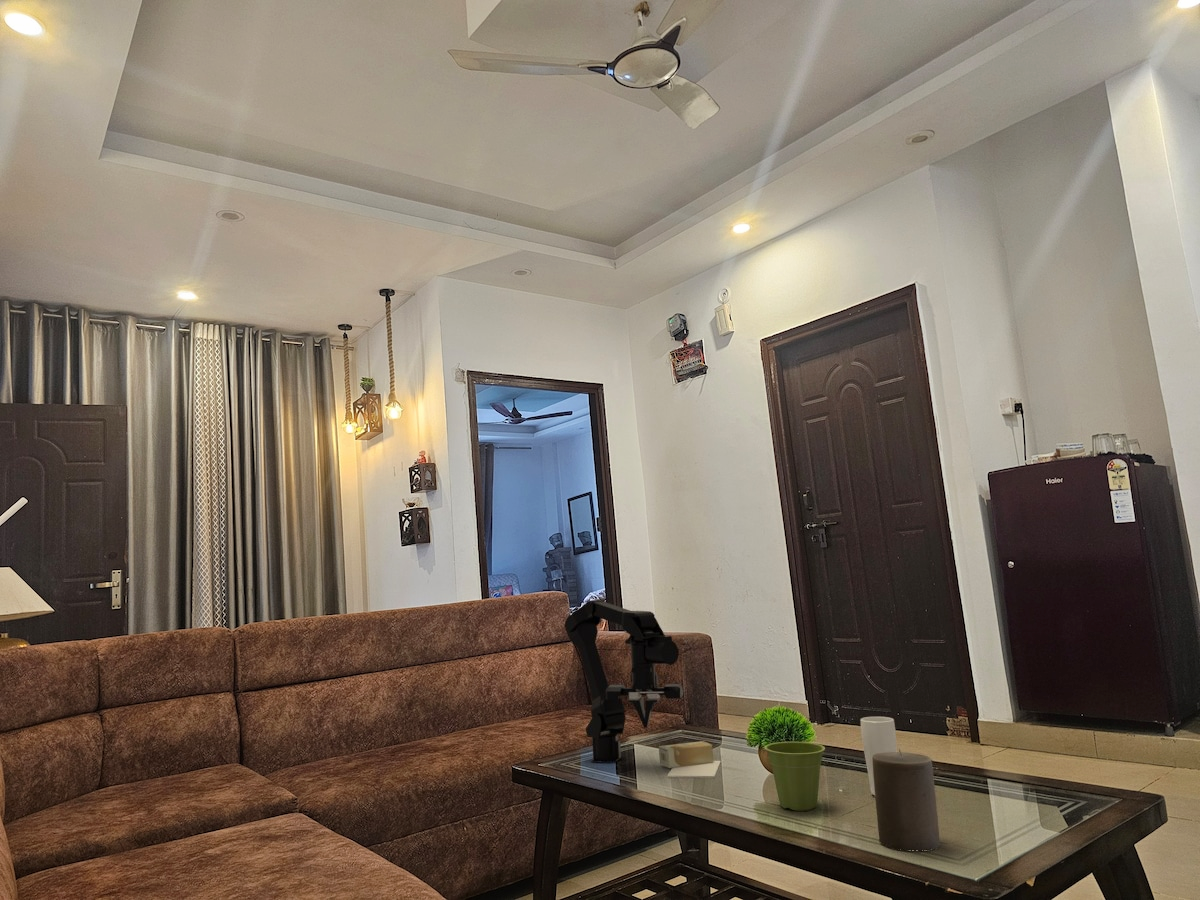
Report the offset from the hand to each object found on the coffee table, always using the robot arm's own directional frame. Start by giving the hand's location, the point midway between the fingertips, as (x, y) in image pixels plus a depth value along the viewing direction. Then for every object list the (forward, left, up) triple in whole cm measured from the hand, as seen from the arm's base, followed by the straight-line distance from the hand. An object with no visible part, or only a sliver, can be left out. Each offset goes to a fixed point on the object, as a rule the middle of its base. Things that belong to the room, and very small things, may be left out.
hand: (645, 727), depth 197 cm
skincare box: (+4, +1, -7) cm, 8 cm away
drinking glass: (+53, -22, -10) cm, 58 cm away
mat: (+12, 0, -10) cm, 15 cm away
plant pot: (+36, -31, -10) cm, 49 cm away
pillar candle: (+54, -52, -10) cm, 76 cm away
